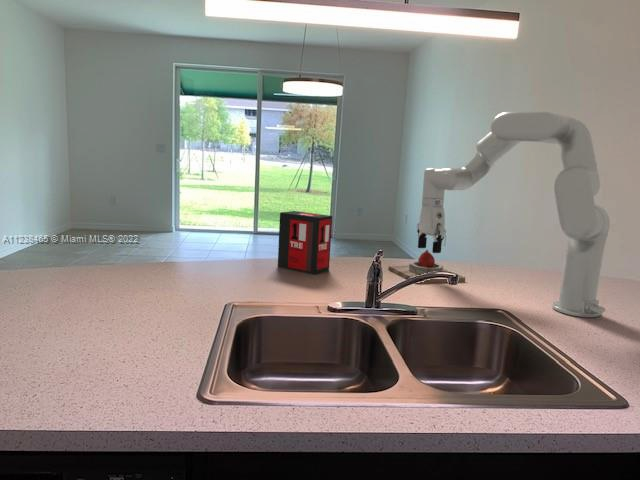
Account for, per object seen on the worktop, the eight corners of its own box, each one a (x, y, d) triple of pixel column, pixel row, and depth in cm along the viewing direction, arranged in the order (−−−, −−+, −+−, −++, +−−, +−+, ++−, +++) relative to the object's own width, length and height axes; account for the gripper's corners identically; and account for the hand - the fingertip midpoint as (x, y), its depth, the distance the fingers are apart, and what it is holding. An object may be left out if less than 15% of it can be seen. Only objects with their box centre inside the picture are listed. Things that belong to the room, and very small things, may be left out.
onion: (414, 270, 185) (415, 249, 183) (427, 268, 187) (428, 247, 185) (424, 273, 179) (424, 252, 178) (437, 272, 182) (438, 250, 180)
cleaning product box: (277, 267, 183) (280, 212, 180) (291, 263, 191) (294, 210, 187) (315, 274, 175) (319, 217, 171) (328, 270, 182) (332, 215, 179)
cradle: (464, 281, 178) (466, 270, 177) (415, 283, 171) (416, 272, 170) (433, 268, 196) (434, 258, 195) (388, 269, 189) (389, 259, 188)
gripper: (455, 205, 172) (451, 254, 175) (428, 201, 188) (425, 246, 191) (437, 205, 169) (433, 255, 172) (411, 200, 185) (407, 246, 188)
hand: (429, 250), depth 181 cm, fingers open, 9 cm apart
